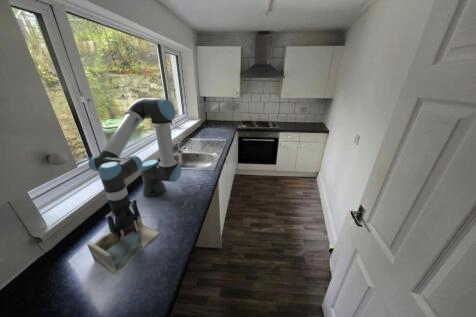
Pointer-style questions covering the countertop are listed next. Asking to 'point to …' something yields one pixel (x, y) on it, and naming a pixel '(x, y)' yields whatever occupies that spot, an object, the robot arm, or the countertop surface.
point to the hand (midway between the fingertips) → (129, 234)
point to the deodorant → (127, 224)
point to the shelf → (115, 239)
